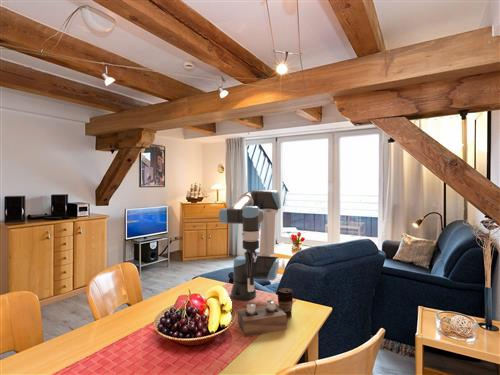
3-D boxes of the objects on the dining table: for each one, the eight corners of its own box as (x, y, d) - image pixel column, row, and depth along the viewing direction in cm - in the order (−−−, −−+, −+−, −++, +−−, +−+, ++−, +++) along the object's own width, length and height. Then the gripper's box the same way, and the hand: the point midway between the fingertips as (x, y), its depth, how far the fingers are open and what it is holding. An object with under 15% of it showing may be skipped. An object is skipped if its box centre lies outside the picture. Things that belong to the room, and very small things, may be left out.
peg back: (266, 313, 133) (265, 300, 133) (273, 312, 134) (273, 299, 134) (269, 317, 129) (268, 304, 129) (277, 315, 130) (276, 303, 130)
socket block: (237, 323, 133) (237, 309, 133) (276, 317, 139) (276, 303, 138) (244, 337, 121) (244, 321, 121) (286, 329, 127) (286, 314, 127)
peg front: (245, 316, 130) (245, 303, 130) (254, 315, 131) (254, 302, 131) (248, 320, 126) (248, 307, 126) (256, 319, 127) (256, 306, 127)
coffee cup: (294, 319, 136) (294, 293, 136) (277, 319, 136) (277, 293, 136) (292, 311, 145) (292, 286, 145) (276, 311, 145) (276, 286, 145)
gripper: (239, 237, 133) (239, 287, 133) (247, 243, 120) (247, 297, 121) (254, 236, 135) (254, 285, 135) (263, 242, 123) (263, 295, 123)
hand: (250, 291), depth 128 cm, fingers closed
